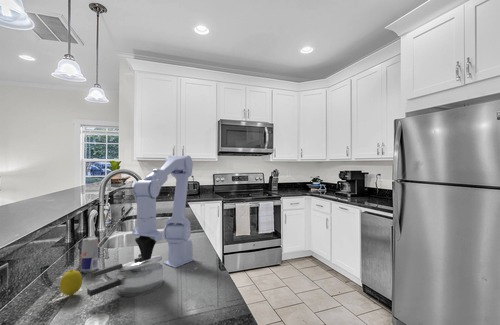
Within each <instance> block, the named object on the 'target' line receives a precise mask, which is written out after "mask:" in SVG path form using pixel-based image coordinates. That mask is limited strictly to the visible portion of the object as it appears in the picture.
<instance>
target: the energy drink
mask: <svg viewBox="0 0 500 325" xmlns="http://www.w3.org/2000/svg"><path fill="white" fill-rule="evenodd" d="M98 268H99V238H98V237H97V236H88V237H85V238H82V241H81V268H80V269H81V272H82V273H83V274H85V273H86V274H87V273H92V272H95V271H98V270H97V269H98Z"/></svg>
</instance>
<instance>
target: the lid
mask: <svg viewBox="0 0 500 325" xmlns="http://www.w3.org/2000/svg"><path fill="white" fill-rule="evenodd" d="M162 260H163V256H162V255H159V254H158V255H151V259H149V260H146V261H144V260H143V259H142V256H140V257H136V258H134V260H132V261H130V262H127V263H124V264H123V263H118V264H115V265H112V266H109V267H105V268H102V269H99V270H95V271H92V272H90V278H96V277H100V276H102V275H106V274H107V273H111V272H114V271H115V272H116V273H117V272H124V271H129V270H133V269H137V268H141V267H144V266H147V265H150V264H153V263H156V262H157V263H159V262H160V261H162Z"/></svg>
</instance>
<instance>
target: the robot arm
mask: <svg viewBox="0 0 500 325" xmlns="http://www.w3.org/2000/svg"><path fill="white" fill-rule="evenodd" d="M193 164H194V163H193V159H192V157H191V156H190V155H176V156H175V155H173V156H172V155H168V156H167V157H166V158H165V161H164V164H163V165H162V166H161V167H159V168H154V169H153V170H152V172H150V173H149V174H148V175H147V176H145V178H144V179H141V180H137V181H136V182H135V183H134V185H133V187H132V195H133V197H134V202H135V204H136V227H132V235H133V236H135V238H134V240H135V243H136V244H137V246H138V248H139V251H140V257H142V259H143V260H144V261H146V260H149V259H151V256H153V251H154V249H155V245H156V243H157V242H158V241H159V242H160V241H163V237H164V240H166V243H167V258H168V259H167V260H165V261H163V264H164V265H166V266H170V267H172V268H175V269H176V268H179V267H180V266H183V265H185V264H188V263H191V262H193V261H194V260H195V259H194V257H193V255H194V254H193V250H194V248H193V242H192V240H191V239H190V238H191V237H190V236H191V234H192V230H191V229H192V228H191V221H190V220H189V218H187V217H186V216H185V214H186V205H187V196H188V188H189V187H188V186H189V178H190V177H192V173H193V166H194V165H193ZM169 175H171V177H174V178H175V180H176V181H175V189H174V198H173V204H172V205H173V207H172V213H171V214H172V215H171V216H170V218H168V219H167V220H165V226H164V228H163V231H162V232H163V233H162V232H160V231H159V230H158V229H157V197H159V195H160V191H161V189H162V186H163V185H164V184H165V183H166V182H168V179H169V177H168V176H169ZM138 236H139V237H138Z"/></svg>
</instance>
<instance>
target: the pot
mask: <svg viewBox="0 0 500 325" xmlns="http://www.w3.org/2000/svg"><path fill="white" fill-rule="evenodd" d="M163 270H164V269H163V264H161V263H160V262H156V263H153V264H150V265H147V266H144V267H141V268H137V269H133V270H129V271H124V272H116V273H115V276H116V277H114V278H112V279H109V280H106V281H104V282H101V283H98V284H95V285H93V286H90V287H87V289H86V290H87V292H86V293H87V295H88V296H89V297H92V296H96V295H98V294H100V293H103V292H106V291H108V290H111V289H114V288H115V292H116V293H117V295H119V296H121V297H132V298H133V297H140V296H143V295H148V294H150V293H153V292H154V291H156V290H158V289H159V288H160V287H161V286H162V285H163V283H164V280H163V279H164V277H163V276H164V273H163V272H164V271H163Z"/></svg>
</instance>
